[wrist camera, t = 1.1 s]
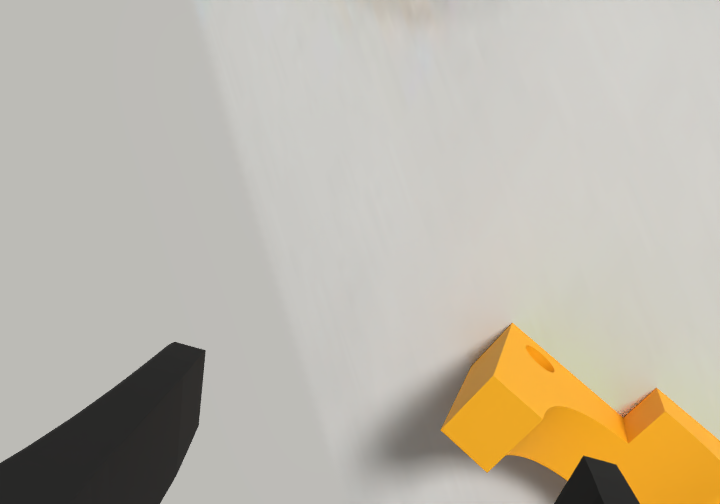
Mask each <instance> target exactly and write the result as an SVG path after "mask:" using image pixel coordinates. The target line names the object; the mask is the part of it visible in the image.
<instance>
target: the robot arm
mask: <svg viewBox="0 0 720 504" xmlns="http://www.w3.org/2000/svg"><path fill="white" fill-rule="evenodd" d="M204 361H205V350H202V349H198V348H195V347H191V346H188V345H184V344H180V343H177V342H174V343H171V344H169V345H168V346H167V347H165V348H164V349H163V350H162V351H160V352H159V353H158V354H157V355H155V356H154V357H153V358H152V359H150V360H149V361H148V362H147V363H145V364H144V365H143V366H142V367H140V368H139V369H138V370H136V371H135V372H134V373H132V374H131V375H130V376H129V377H127V378H126V379H125V380H123V381H122V382H121V383H119V384H118V385H117V386H115V387H114V388H113V389H111V390H110V391H109V392H107V393H106V394H104V395H103V396H102V397H100V398H99V399H97V400H96V401H95V402H93V403H92V404H90V405H89V406H88V407H86V408H85V409H83V410H82V411H81V412H79V413H78V414H76V415H75V416H74V417H72V418H71V419H69V420H68V421H66V422H64V423H63V424H61V425H60V426H58V427H57V428H55V429H54V430H52V431H51V432H49V433H48V434H46V435H45V436H43V437H42V438H40V439H39V440H37V441H35V442H34V443H32V444H31V445H29V446H28V447H26V448H25V449H23V450H21V451H20V452H18V453H16V454H15V455H13V456H11V457H10V458H8V459H6V460H5V461H3V462H1V463H0V504H160V503H161V501H162V499H163V497H164V496H165V494H166V492H167V491H168V489H169V487H170V485H171V484H172V482H173V480H174V478H175V477H176V475H177V472H178V470H179V468H180V466H181V464H182V462H183V459H184V457H185V455H186V453H187V450H188V448H189V446H190V444H191V442H192V439H193V437H194V435H195V432H196V430H197V428H198V425H199V415H200V403H201V393H202V382H203V372H204ZM554 504H640V503H639V501H638V500H637V498H636V496H635V494H634V493H633V491H632V489H631V488H630V486H629V484H628V483H627V481H626V479H625V478H624V476H623V475H622V473H621V471H620V470H619V468H618V466H617V465H616V464H613V463H609V462H605V461H602V460H598V459H595V458H591V457H587V456H584V455H583V457H582V458H581V460H580V462H579V463H578V465H577V467H576V468H575V470H574V472H573V473H572V475H571V477H570V478H569V480H568V482H567V483H566V485H565V487H564V488H563V490H562V492H561V493H560V495H559V497H558V498H557V500H556V502H555V503H554Z"/></svg>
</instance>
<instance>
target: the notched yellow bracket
mask: <svg viewBox="0 0 720 504" xmlns="http://www.w3.org/2000/svg"><path fill="white" fill-rule="evenodd" d="M441 431H442V432H443V433H444V434H445V435H446V436H448V437H449V438H450V439H451V440H452V441H453V442H454V443H455V444H456V445H457V446H458V447H460V448H461V449H462V450H463V451H464V452H465V453H466V454H467V455H468V456H469V457H470V458H472V459H473V460H474V461H475V462H476V463H477V464H478V465H479V466H480V467H481V468H482V469H484V470H485V471H486V472H487V473H488V472H489V471H490V470H491V469H492V468H493V467H494V466H495V465H496V464H497V463H498V462H499V461H500V460H501V459H502V458H503V457H504V456H506V455H516V456H521V457H525V458H528V459H531V460H533V461H535V462H538V463H540V464H542V465H544V466H545V467H547V468H549V469H551V470H552V471H554V472H555V473H557V474H558V475H560V476H561V477H563V478H564V479H566V480H567V481H568V480H569V478H570V477H571V475H572V473H573V472H574V470H575V468H576V467H577V465H578V463H579V462H580V460H581V458H582V457H583V455H584V456H587V457H591V458H595V459H598V460H602V461H605V462H609V463H613V464H616V465H617V466H618V468H619V470H620V471H621V473H622V475H623V476H624V478H625V479H626V481H627V483H628V484H629V486H630V488H631V489H632V491H633V493H634V494H635V496H636V498H637V500H638V501H639V503H640V504H720V441H719V440H718V439H717V438H716V437H715V436H713V435H712V434H711V433H710V432H709V431H707V430H706V429H705V428H704V427H703V426H702V425H700V424H699V423H698V422H697V421H696V420H694V419H693V418H692V417H691V416H690V415H688V414H687V413H686V412H685V411H684V410H682V409H681V408H680V407H679V406H678V405H677V404H675V403H674V402H673V401H672V400H671V399H669V398H668V397H667V396H666V395H665V394H663V393H662V392H661V391H660V390H659V389H657V388H656V389H655V390H654V391H652V392H651V393H650V394H649V395H648V396H647V397H646V398H645V399H644V400H642V401H641V402H640V403H639V404H638V405H637V406H636V407H635V408H634V409H632V410H631V411H630V412H629V413H628V414H627V415H626V416H625V417H624V418H623V417H622V416H620V415H619V414H618V413H617V412H616V411H615V410H613V409H612V408H611V407H610V406H609V405H608V404H606V403H605V402H604V401H603V400H602V399H601V398H599V397H598V396H597V395H596V394H595V393H594V392H592V391H591V390H590V389H589V388H588V387H587V386H585V385H584V384H583V383H582V382H581V381H580V380H578V379H577V378H576V377H575V376H574V375H573V374H571V373H570V372H569V371H568V370H567V369H566V368H564V367H563V366H562V365H561V364H560V363H559V362H558V361H556V360H555V359H554V358H553V357H552V356H551V355H549V354H548V353H547V352H546V351H545V350H544V349H542V348H541V347H540V346H539V345H538V344H537V343H535V342H534V341H533V340H532V339H531V338H530V337H528V336H527V335H526V334H525V333H524V332H523V331H521V330H520V329H519V328H518V327H517V326H516V325H514V324H513V323H512V324H511V325H510V326H509V327H508V328H507V329H506V330H505V331H504V332H503V333H502V334H501V335H500V336H499V337H498V338H497V340H496V341H495V342H494V343H493V344H492V345H491V346H490V347H489V348H488V349H487V350H486V351H485V352H484V353H483V354H482V355H481V356H480V357H479V359H478V360H477V361H476V362H475V363H474V364H473V365H472V366H471V368H470V370H469V372H468V374H467V376H466V378H465V380H464V382H463V384H462V386H461V388H460V391H459V393H458V395H457V397H456V399H455V401H454V403H453V405H452V407H451V409H450V411H449V413H448V415H447V418H446V420H445V422H444V424H443V426H442V428H441Z"/></svg>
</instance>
